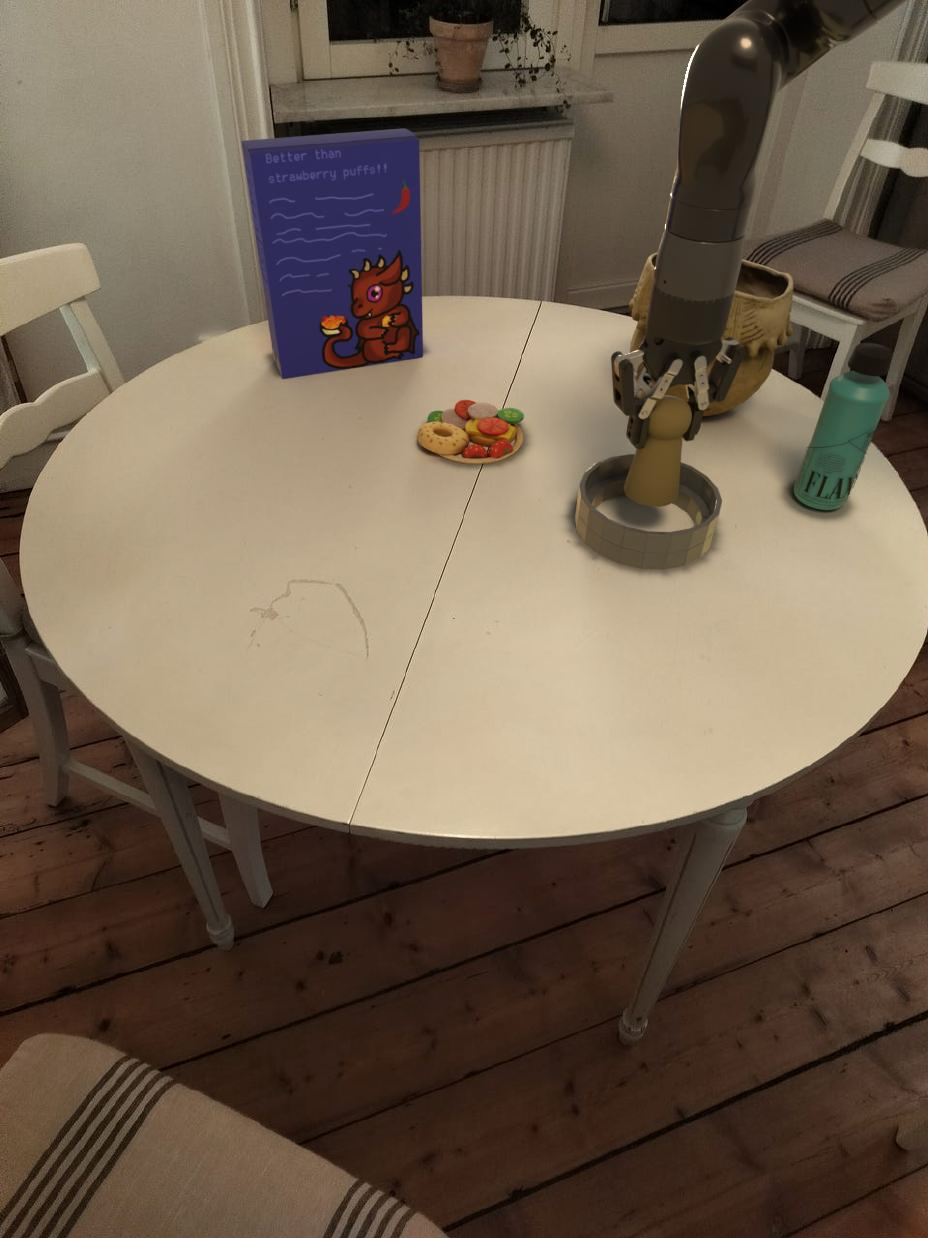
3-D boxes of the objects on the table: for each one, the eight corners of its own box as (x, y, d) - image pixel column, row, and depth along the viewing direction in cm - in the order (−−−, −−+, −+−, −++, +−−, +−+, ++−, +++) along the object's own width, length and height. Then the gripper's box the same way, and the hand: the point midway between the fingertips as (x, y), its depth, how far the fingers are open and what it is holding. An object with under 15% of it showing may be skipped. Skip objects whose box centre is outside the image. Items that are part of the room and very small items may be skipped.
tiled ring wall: (732, 525, 98) (744, 486, 94) (671, 594, 89) (681, 553, 85) (617, 478, 104) (623, 439, 101) (548, 537, 95) (553, 497, 92)
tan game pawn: (686, 485, 93) (707, 396, 86) (667, 513, 90) (687, 422, 82) (635, 470, 96) (652, 381, 88) (615, 495, 92) (630, 406, 84)
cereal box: (411, 340, 132) (405, 125, 111) (423, 357, 128) (419, 137, 107) (274, 361, 126) (240, 138, 105) (282, 378, 122) (249, 151, 101)
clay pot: (681, 358, 129) (709, 222, 115) (796, 415, 117) (843, 271, 103) (583, 397, 119) (601, 254, 105) (697, 463, 107) (734, 312, 93)
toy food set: (408, 459, 107) (407, 437, 104) (440, 410, 116) (440, 388, 114) (508, 477, 104) (509, 455, 102) (533, 426, 113) (535, 404, 111)
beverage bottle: (786, 514, 99) (841, 357, 86) (789, 485, 104) (842, 331, 90) (843, 526, 98) (909, 367, 84) (844, 495, 102) (906, 340, 89)
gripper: (642, 304, 72) (614, 470, 84) (784, 288, 76) (739, 449, 87) (606, 272, 77) (584, 432, 89) (741, 258, 81) (703, 414, 92)
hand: (661, 440), depth 88 cm, fingers closed on tan game pawn, 5 cm apart
